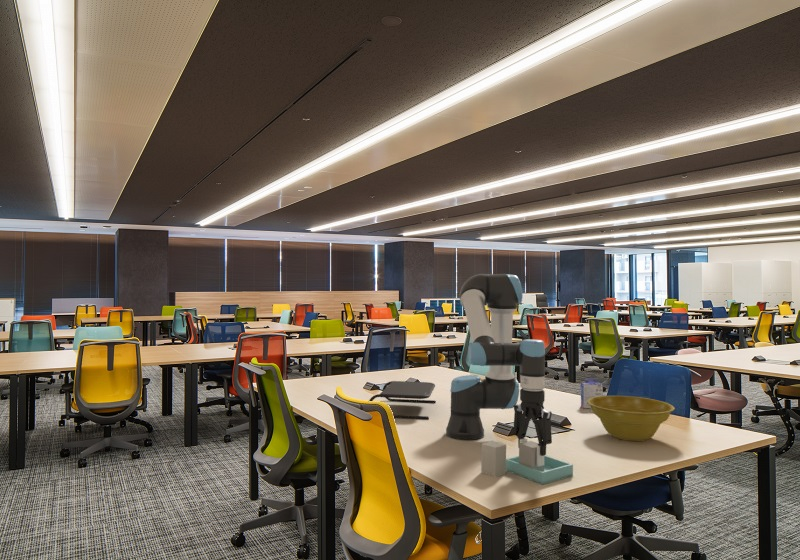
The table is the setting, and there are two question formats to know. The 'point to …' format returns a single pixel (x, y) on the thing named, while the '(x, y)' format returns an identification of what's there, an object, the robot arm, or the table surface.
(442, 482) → the table surface
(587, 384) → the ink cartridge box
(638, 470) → the table surface
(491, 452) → the stone
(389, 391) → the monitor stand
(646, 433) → the planter bowl
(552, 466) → the bin
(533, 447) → the stone
